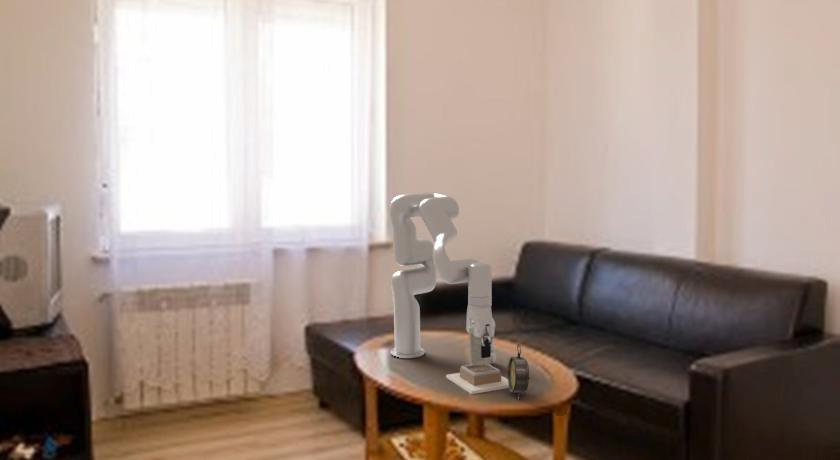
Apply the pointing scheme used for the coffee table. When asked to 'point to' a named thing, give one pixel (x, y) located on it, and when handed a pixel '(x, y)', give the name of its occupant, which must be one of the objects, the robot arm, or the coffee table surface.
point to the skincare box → (477, 350)
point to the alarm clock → (518, 374)
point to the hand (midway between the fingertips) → (480, 353)
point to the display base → (480, 387)
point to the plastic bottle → (493, 356)
